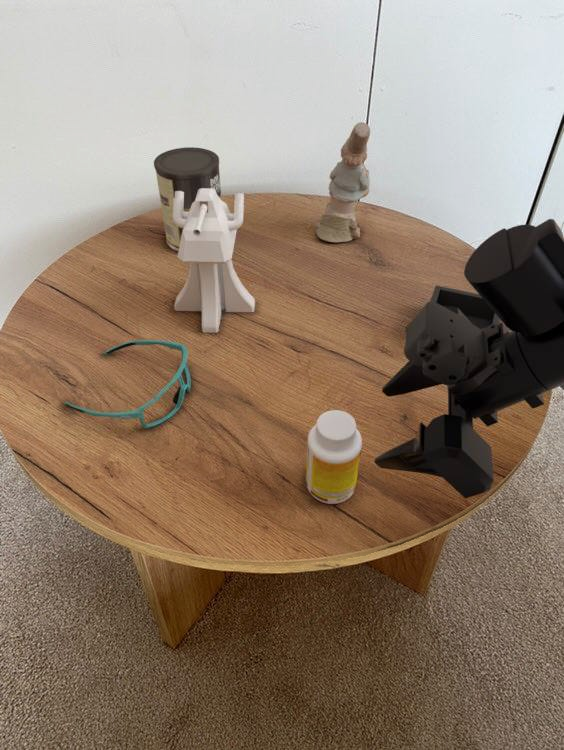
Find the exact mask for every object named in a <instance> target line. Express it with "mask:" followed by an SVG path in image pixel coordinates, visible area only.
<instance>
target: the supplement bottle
mask: <svg viewBox="0 0 564 750" xmlns="http://www.w3.org/2000/svg"><path fill="white" fill-rule="evenodd" d="M306 445H307V446H306V466H305V467H306V468H305V469H306V470H305V484H306V488H307V490H308V493H309V494H310V495H311V496H312V497H313V498H314V499H316V500H317V501H319V502H321V503H324V504H328V505H329V504H330V505H335V504H340V503H343V502H345V501H347V500H349V499H350V498H351V497H352V496H353V494H354V493H355V491H356V487H357V482H358V475H359V469H360V461H361V455H362V448H363V438H362V435H361V433H360V431H359V429H358V428H357V422H356V420H355V418H354V417H353V415H351V414H350V413H348V412H346V411H344V410H340V409H339V410H338V409H330V410H327V411H325V412H323V413H321V414H320V415H319V416H318V418H317V420H316V424H314V425H313V426H312V428H311V429H310V430H309V432H308V435H307V444H306Z"/></svg>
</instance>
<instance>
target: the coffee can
mask: <svg viewBox="0 0 564 750" xmlns="http://www.w3.org/2000/svg"><path fill="white" fill-rule="evenodd" d="M153 167H154V169H155V173H156V180H157V186H158V193H159V200H160V207H161V213H162V219H163V225H164V232H165V241H166V244H167V246H168V247H170V248H171V249H172V250H173V251H175V252H177V253H178V252H179V246H180V240H181V235H182V231H183V228H180V227H178V226H177V225H176V224H175V223H174V221H173V199H174V198H175V191H182V192H184V207H183V211H185V212H189V210H190V208H191V205H192V203H193V202H194V201H195V199H196V196H197V192H198V190H199V189H201V188H211V189H214V190H215V191H216V193H217V195H218V196H219V198H220V199H221V200H222V189H221V177H220V175H221V173H220V157H219V155H218V154H217V153H216V152H214V151H213V150H209V149H207V148H202V147H193V146H191V147H190V146H189V147H178V148H173V149H169V150H166V151H164V152H162V153H160V154H159V155H157V156H156V157H155V159H154V160H153Z"/></svg>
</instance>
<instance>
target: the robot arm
mask: <svg viewBox="0 0 564 750" xmlns="http://www.w3.org/2000/svg"><path fill="white" fill-rule="evenodd" d="M463 274H464V277H465V279H466V280H467V282H468V283H469V284H470V285H471V286H472V288H473V289H474V291H476V293H477V294H479V295H480V296H481V297H482V298H483V299H484V301H485V302H486V303H487V304H488V305H489V307H490V308H491V309H492V310H493V311H494V312H495V314H496V315H497V316H498V317H499V318H500V320H499V321H501V322H499V324H498V325H497V324H492V325H490V326H488V327H486V328H482V329H479V328H477V327H476V326H474V325H473V324H472V323H471V322H470V321H469V320H468V319H467V318H466V316H465V315H464V314H463V313H462V312H461V311H460V310H459V308H457V307H448V306H441V305H439V304H437V303H435V302H432V301H431V300H430V301H428V302H426V303H425V304H424V305H423V307H422V308H421V309H420V310H419V311H418V313H417V314H416V315H415V316H414V317H413V318H412V320H410V321H409V323H408V324H407V325H406V327H405V329H404V330H405V331H404V332H405V334H406V335H405V344H404V346H403V354H404V356H405V358H406V359H407V360H408V361H407V362H406V363H405V365H403V366H402V367H401V368H400V369H399V371H397V373H395V374H394V376H393V377H391V379H389V380H388V381H387V382H386V383H385V384H384V385H383V387H382V388H381V392H382V393H383V394H384V395H385V396H386V397H388V398H390V397H396V396H402V395H406V394H411V393H413V392H417V391H421V390H425V389H430V388H432V387H437V386H441V385H444V386H446V389H447V406H448V407H447V411H448V412H447V414H446V413H444V414H441V415H439V416H437V417H434V418H432V420H431V421H430V422H429V423H428V425H427V426H426V425H425V424H424V423H423V422H420V423H419V425H418V427H417V428H418V429H417V432H416V435H415V437H414V438H412V439H410V440H408V441H406V442H404V443H401V444H399V445H397V446H395V447H393V448H390V449H389V450H386V451H385V452H383V453H382V454H380V455H379V456H377V457H375V458H374V464H375V465H376V466H377V467H379V468H380V469H384V470H394V471H400V472H409V473H417V474H426V475H429V476H435V477H438V478H443V480H444V481H446V482H447V483H448V485H450V486H451V487H452V488H454V489H455V491H456V492H458V494H459V495H460V496H462V497H463V498H464V499H468V498H469V499H470V498H471V497H474V496H478V495H481V494H484V493H486V492H488V491H490V490H491V488H492V485H493V483H494V480H495V478H494V477H495V476H494V465H493V452H492V447H491V445H490V444H489V443H488V442H487V441H486V440H485V439H484V438H483V437H482V436H481V435H480V434H479V433H478V432H477V431H476V430H475V428H474V420H477V419H479V420H480V421H481V422H482V423H483V424H484V425H485V426H486V427H490V426H493V425H496V424H498V423H499V417H498V412H499V411H501V410H502V411H503V410H505V409H508V408H510V407H512V406H514V405H518V404H519V403H522V402H526V403H527V404H528V406H529V407H530V408H532V410H533V409H536V408H539V407H541V406H543V405H545V400H544V393H546V392H549V391H551V390H554V389H556V388H559V387H561V386H564V233H563V231H562V228H561V227H560V226H559V224H558V223H557V222H556V220H555V219H554V218H548V219H546V220H545V221H544V222H542V223H540V224H538V225H536V226H535V225H532V224H520V225H516V226H512V227H509V228H507V229H506V228H501V229H500V230H498V231H496V232H495V233H493V234H492V235H491V236H489V237H488V238H486V239H485V240H484V241H483V242H481V244H480V245H478V247H477V248H476V249H475V250H473V252H472V254H471V255H470V256H469V258H468V259H467V261H466V263H465V267H464V270H463Z"/></svg>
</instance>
